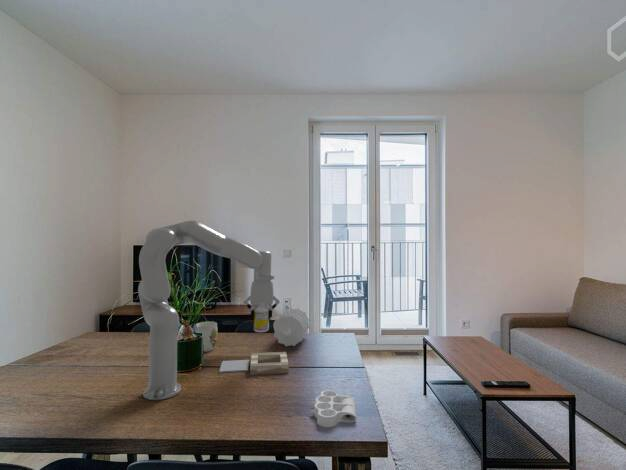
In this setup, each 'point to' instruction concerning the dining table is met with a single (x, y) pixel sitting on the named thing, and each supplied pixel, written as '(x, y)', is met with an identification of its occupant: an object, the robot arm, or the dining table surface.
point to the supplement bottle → (261, 318)
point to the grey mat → (234, 366)
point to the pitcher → (208, 334)
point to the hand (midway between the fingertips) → (261, 318)
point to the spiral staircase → (291, 327)
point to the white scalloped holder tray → (333, 408)
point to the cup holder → (263, 367)
